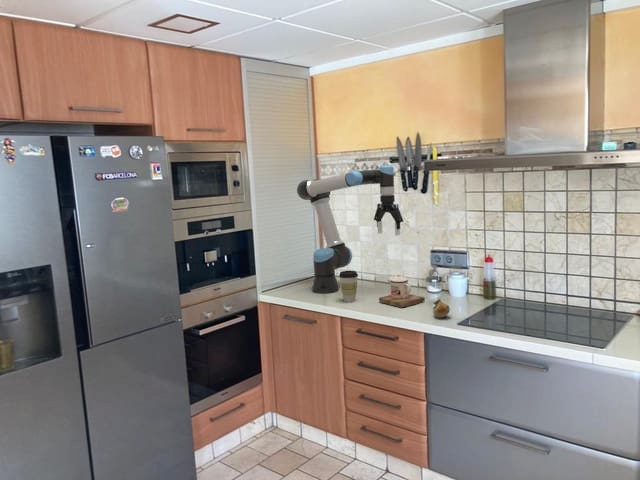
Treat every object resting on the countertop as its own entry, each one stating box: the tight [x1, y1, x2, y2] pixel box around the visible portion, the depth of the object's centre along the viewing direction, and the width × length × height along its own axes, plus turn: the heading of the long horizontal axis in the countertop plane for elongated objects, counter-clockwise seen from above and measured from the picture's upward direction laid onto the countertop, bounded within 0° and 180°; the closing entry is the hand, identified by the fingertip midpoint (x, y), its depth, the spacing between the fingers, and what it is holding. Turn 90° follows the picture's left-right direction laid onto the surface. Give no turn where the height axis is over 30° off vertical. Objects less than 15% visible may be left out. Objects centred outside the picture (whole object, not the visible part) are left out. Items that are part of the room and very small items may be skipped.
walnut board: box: [378, 293, 426, 309], centre depth 264 cm, size 16×16×2 cm
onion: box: [432, 298, 451, 319], centre depth 235 cm, size 8×8×8 cm
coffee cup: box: [338, 270, 359, 303], centre depth 272 cm, size 10×10×15 cm
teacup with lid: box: [389, 273, 412, 299], centre depth 263 cm, size 12×9×12 cm
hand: (388, 234), depth 282 cm, fingers open, 13 cm apart
